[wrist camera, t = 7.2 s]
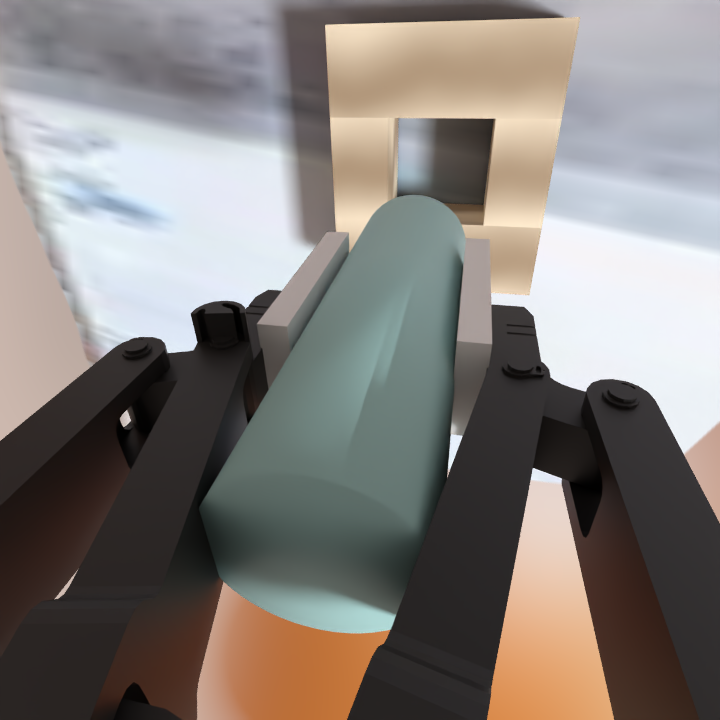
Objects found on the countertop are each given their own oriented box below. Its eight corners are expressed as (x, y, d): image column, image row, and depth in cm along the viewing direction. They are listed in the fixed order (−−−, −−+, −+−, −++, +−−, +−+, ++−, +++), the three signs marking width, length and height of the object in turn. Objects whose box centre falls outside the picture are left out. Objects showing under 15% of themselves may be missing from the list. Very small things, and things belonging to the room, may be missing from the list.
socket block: (343, 24, 28) (325, 24, 25) (568, 17, 26) (580, 17, 23) (351, 258, 36) (338, 282, 33) (525, 268, 34) (529, 295, 30)
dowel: (361, 193, 19) (168, 456, 7) (470, 196, 18) (447, 495, 6) (364, 290, 21) (219, 609, 9) (461, 297, 20) (431, 651, 9)
